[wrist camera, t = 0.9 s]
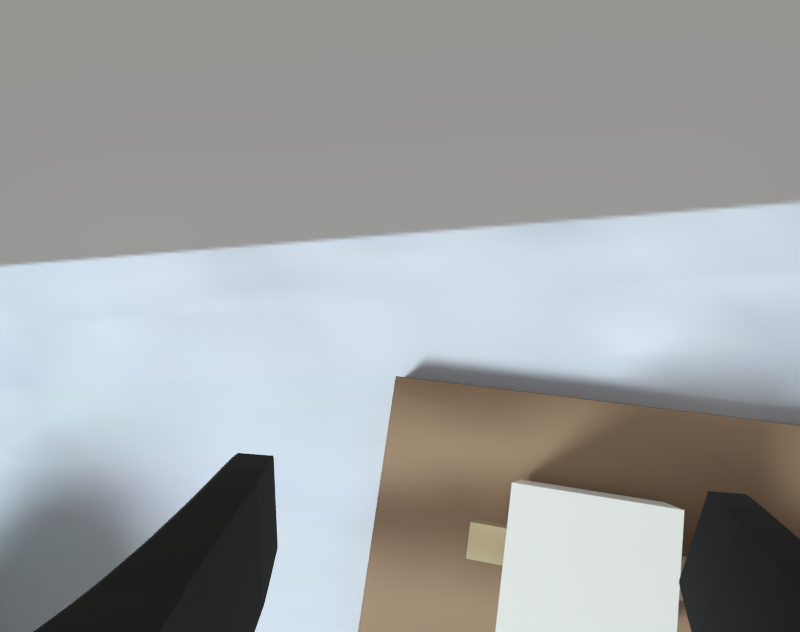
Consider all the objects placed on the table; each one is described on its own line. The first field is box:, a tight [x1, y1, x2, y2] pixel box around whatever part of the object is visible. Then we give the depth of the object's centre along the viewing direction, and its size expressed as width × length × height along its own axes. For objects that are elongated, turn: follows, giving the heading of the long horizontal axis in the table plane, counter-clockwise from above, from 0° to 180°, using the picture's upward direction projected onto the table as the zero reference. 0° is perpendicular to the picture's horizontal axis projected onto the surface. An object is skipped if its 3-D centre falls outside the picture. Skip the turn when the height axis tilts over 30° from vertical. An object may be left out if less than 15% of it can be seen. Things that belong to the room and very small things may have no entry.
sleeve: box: [495, 479, 684, 632], centre depth 21 cm, size 4×5×4 cm
